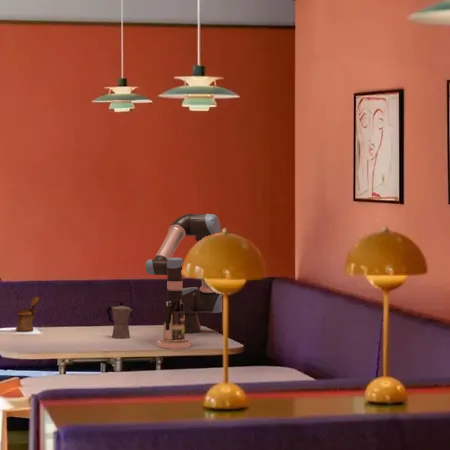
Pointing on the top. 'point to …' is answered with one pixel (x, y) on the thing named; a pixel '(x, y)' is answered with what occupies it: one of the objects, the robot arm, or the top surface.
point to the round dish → (174, 344)
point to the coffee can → (176, 326)
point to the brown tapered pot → (27, 317)
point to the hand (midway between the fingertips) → (174, 335)
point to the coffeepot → (120, 321)
